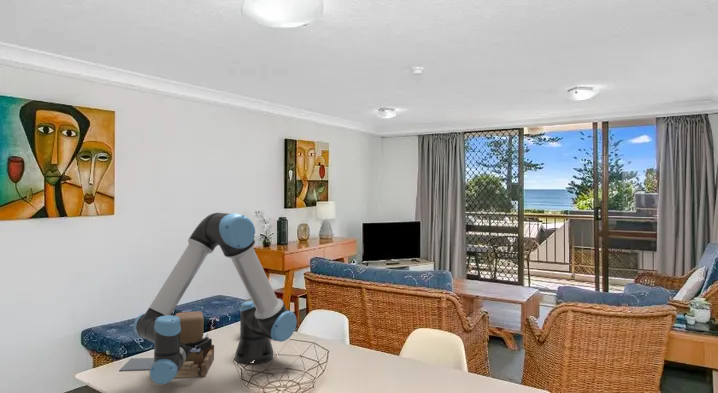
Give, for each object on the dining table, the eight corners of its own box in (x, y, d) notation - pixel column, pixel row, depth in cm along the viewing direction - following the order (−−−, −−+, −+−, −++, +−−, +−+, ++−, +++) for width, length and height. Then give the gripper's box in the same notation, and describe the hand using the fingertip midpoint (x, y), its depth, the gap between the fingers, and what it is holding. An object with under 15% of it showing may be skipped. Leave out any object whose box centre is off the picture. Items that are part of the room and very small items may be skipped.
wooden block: (173, 364, 173) (174, 312, 174) (201, 360, 177) (202, 310, 177) (174, 373, 164) (175, 318, 164) (202, 369, 168) (204, 316, 168)
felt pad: (131, 359, 177) (131, 358, 177) (162, 358, 179) (162, 357, 179) (119, 371, 165) (119, 369, 165) (153, 370, 167) (153, 368, 167)
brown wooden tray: (170, 361, 177) (171, 345, 177) (213, 359, 179) (214, 344, 179) (157, 378, 159) (157, 361, 159) (205, 377, 161) (205, 360, 162)
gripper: (137, 368, 149) (157, 347, 171) (211, 366, 153) (221, 345, 174) (137, 346, 149) (157, 327, 171) (211, 344, 153) (222, 326, 174)
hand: (189, 336), depth 173 cm, fingers closed on wooden block, 11 cm apart
